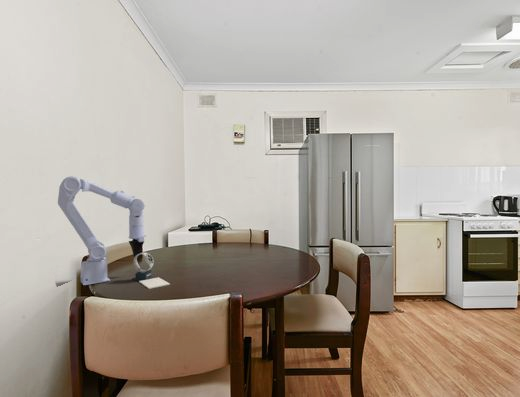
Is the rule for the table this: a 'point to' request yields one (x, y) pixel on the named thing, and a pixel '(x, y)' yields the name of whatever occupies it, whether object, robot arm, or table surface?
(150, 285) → the mat
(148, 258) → the watch
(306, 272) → the table surface
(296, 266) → the table surface
